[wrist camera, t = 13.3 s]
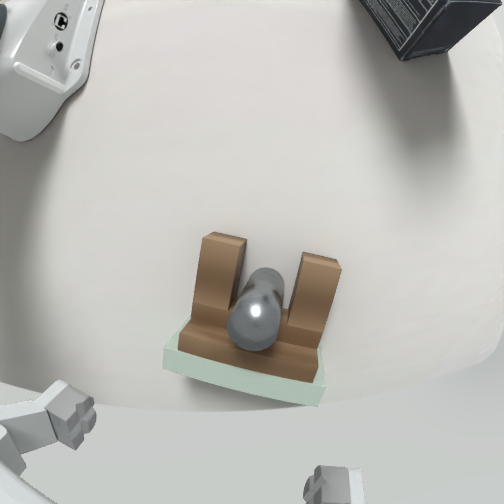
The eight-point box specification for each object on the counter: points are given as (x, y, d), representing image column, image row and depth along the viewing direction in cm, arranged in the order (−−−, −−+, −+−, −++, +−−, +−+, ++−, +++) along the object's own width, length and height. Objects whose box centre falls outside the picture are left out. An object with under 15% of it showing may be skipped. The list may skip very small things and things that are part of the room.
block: (213, 231, 24) (190, 244, 19) (336, 259, 23) (347, 280, 18) (199, 319, 26) (177, 350, 21) (310, 346, 25) (312, 383, 20)
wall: (190, 315, 26) (164, 347, 20) (321, 347, 25) (325, 387, 19) (187, 334, 27) (162, 368, 21) (314, 364, 26) (317, 406, 20)
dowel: (251, 264, 24) (231, 300, 17) (287, 272, 24) (283, 311, 16) (245, 298, 25) (223, 344, 17) (280, 305, 25) (272, 355, 17)
